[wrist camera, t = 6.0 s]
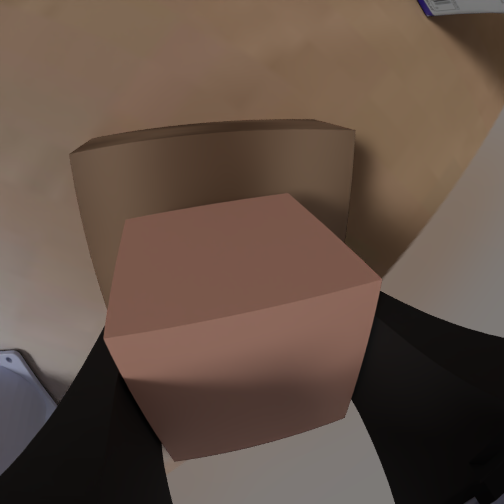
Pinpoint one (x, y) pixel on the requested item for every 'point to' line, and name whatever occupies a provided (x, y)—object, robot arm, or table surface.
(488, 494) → the robot arm
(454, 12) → the supplement box
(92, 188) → the walnut block
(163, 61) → the table surface
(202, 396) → the terracotta cube
